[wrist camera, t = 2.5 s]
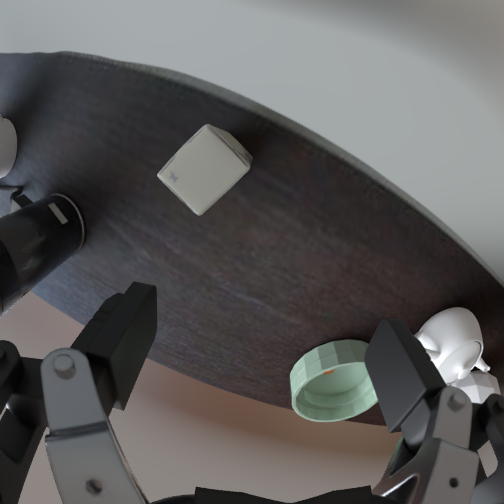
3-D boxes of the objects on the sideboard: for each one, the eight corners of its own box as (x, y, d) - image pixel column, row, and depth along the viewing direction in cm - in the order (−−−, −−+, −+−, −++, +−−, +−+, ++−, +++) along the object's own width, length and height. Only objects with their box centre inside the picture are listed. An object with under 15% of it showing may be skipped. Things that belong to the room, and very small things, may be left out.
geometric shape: (439, 377, 51) (422, 431, 42) (476, 347, 40) (465, 411, 31) (475, 395, 45) (463, 447, 36) (514, 368, 35) (507, 428, 26)
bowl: (278, 394, 44) (280, 419, 39) (307, 331, 38) (312, 357, 33) (355, 399, 45) (361, 421, 40) (393, 341, 39) (405, 364, 34)
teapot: (374, 352, 40) (394, 403, 30) (422, 283, 35) (459, 327, 25) (449, 367, 43) (470, 404, 33) (489, 314, 37) (518, 347, 27)
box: (221, 188, 31) (196, 222, 19) (194, 160, 30) (151, 177, 18) (256, 156, 29) (253, 169, 17) (228, 127, 28) (206, 121, 16)
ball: (315, 364, 40) (317, 376, 38) (321, 353, 39) (324, 365, 37) (330, 366, 40) (333, 377, 38) (336, 354, 39) (340, 366, 37)
